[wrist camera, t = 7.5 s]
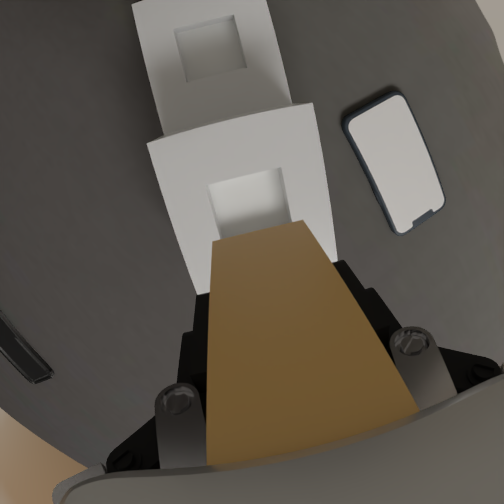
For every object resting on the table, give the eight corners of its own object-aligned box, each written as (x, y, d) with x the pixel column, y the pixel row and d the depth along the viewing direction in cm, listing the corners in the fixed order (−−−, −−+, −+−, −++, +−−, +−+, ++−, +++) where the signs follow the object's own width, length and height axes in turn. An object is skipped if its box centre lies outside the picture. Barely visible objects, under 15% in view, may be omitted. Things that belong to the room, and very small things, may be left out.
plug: (212, 241, 14) (206, 466, 5) (302, 219, 14) (420, 411, 5) (234, 314, 15) (253, 516, 6) (314, 295, 15) (393, 481, 6)
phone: (32, 385, 43) (-23, 324, 37) (34, 380, 44) (-20, 320, 38) (55, 376, 42) (-5, 309, 36) (57, 371, 43) (-2, 305, 37)
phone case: (334, 121, 31) (391, 236, 37) (339, 121, 30) (397, 241, 36) (395, 87, 30) (442, 201, 36) (402, 86, 28) (449, 204, 34)
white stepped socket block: (139, 12, 24) (108, -20, 15) (254, -16, 23) (267, -59, 14) (206, 254, 36) (201, 305, 27) (310, 228, 36) (338, 272, 27)
